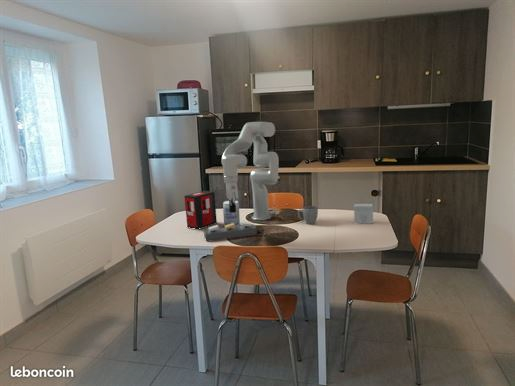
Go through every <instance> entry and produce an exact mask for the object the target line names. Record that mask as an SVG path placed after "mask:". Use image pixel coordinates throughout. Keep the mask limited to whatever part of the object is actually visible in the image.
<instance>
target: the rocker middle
mask: <svg viewBox="0 0 515 386" xmlns="http://www.w3.org/2000/svg"><path fill="white" fill-rule="evenodd" d="M232 227H235V224H234V223H231V224H228V225H225V226H224V228H226V229H229V228H232Z"/></svg>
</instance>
